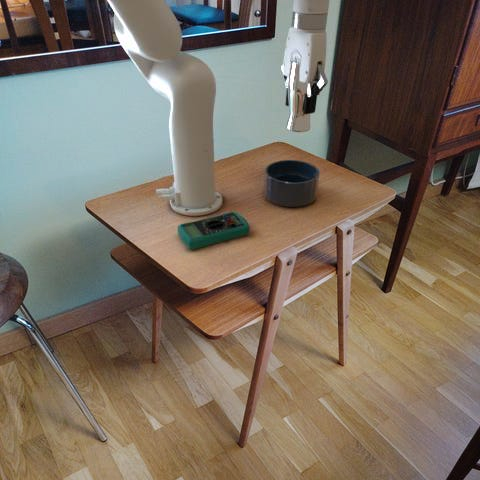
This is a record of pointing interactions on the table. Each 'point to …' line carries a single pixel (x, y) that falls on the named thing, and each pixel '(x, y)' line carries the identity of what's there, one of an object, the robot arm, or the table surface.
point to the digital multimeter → (213, 230)
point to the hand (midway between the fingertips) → (299, 108)
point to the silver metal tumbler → (297, 101)
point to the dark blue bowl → (291, 183)
